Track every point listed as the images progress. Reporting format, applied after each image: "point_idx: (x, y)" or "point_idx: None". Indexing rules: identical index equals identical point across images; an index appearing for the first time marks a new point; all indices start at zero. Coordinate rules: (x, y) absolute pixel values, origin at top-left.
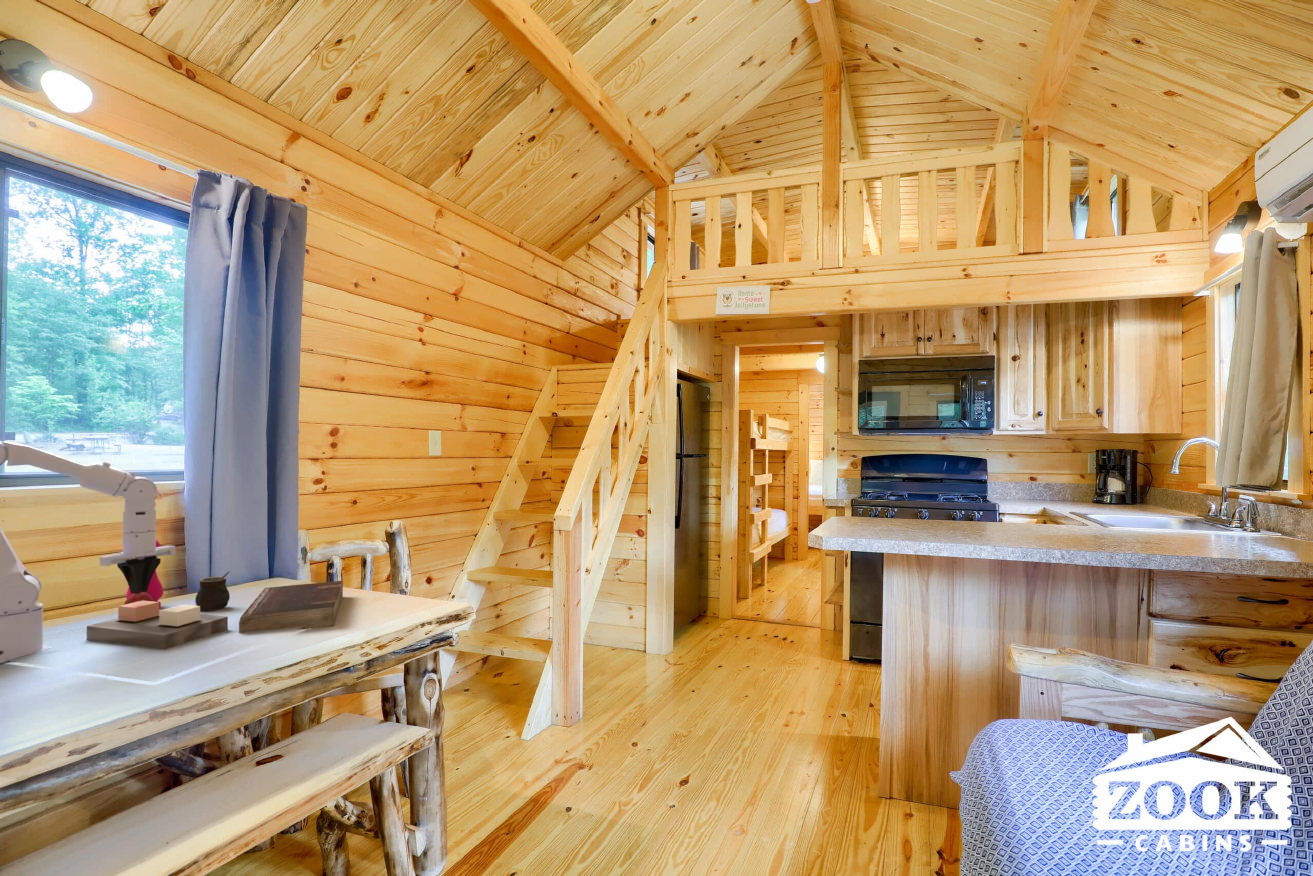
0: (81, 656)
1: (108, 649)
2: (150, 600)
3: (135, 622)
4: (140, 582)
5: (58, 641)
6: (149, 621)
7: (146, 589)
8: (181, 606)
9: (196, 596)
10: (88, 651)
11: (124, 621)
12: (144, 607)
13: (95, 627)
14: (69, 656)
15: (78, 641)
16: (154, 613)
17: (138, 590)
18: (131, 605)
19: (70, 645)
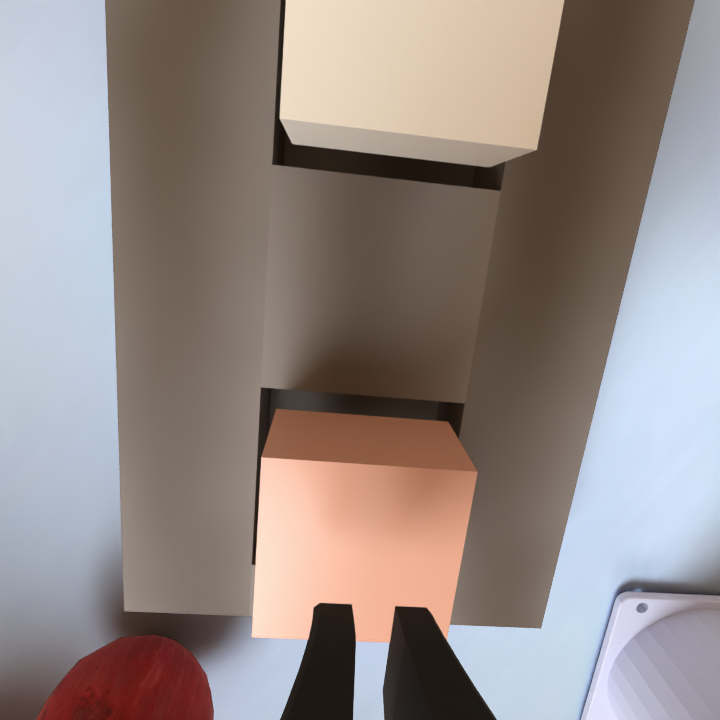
0: (706, 378)
1: None
2: (76, 718)
3: None
4: (451, 714)
5: (503, 685)
6: (395, 357)
7: (333, 620)
8: (357, 44)
9: None
10: (631, 421)
11: None
12: (396, 458)
13: (554, 564)
14: (705, 434)
15: None
16: (308, 421)
17: (435, 629)
18: (411, 573)
19: (551, 586)
